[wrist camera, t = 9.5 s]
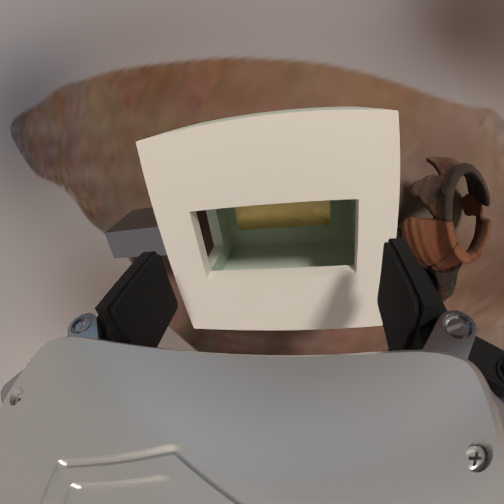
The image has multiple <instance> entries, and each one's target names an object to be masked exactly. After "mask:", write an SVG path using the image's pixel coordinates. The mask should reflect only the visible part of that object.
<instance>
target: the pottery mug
mask: <svg viewBox="0 0 504 504" xmlns="http://www.w3.org/2000/svg"><path fill="white" fill-rule="evenodd" d="M426 160H427V162H429V163H430V164H431V165H433V166H434V168H435V169H436V171H437V172H438V174H439V175H435V174H432V175H428V176H426V177H425V178H423V179H422V180H418V181H415V182H414V183H413V185H412V187H411V189H410V192H409V195H410V196H411V197H414V198H417V199H420V201H421V202H422V203H423V204H424V205H425V206H426V207H427V208H428V210H429V211H430V213H431V214H432V216H433V217H434V218H432V219H422V218H416V217H409V218H407V219H405V220H404V221H403V224H402V229H400V228H399V229H397V236H396V238H403V239H404V240H405V242H406V243H407V245H408V247H409V248H410V250H411V251H412V253H413V255H414V256H415V258H416V260H417V262H418V263H419V265H420V267H421V268H422V269H423V270H425V271H426V272H427V274H428V276H429V278H430V279H431V281H432V283H433V285H434V287H435V288H436V290H437V292H438V294H439V296H440V298H441V300H442V302H443V301H445V300H446V299H448V298H449V297H450V296H451V295H452V294H453V292H454V289H455V285H456V280H457V274H458V271H459V269H460V267H461V265H462V263H466V264H467V263H472V262H474V261H476V260H477V259H478V258H479V257H480V256H481V254H482V252H483V251H484V249H485V247H486V244H487V241H488V238H489V234H490V228H491V220H490V219H485V218H483V209H482V204H483V205H485V206H489V205H490V195H489V191H488V188H487V186H486V183H485V180H484V179H483V177H482V175H481V174H480V172H479V171H478V170H477V169H476V168H475V167H474V166H472V165H471V164H468V163H459V162H458V161H456V160H455V159H453V158H441V157H428V158H427V159H426ZM462 175H464V176H465V178H466V181H467V187H468V192H469V194H466V195H465V196H464V197H462V198H461V203H462V207H463V210H464V213H465V215H467V216H471V215H474V216H476V227H475V234H474V237H473V240H472V242H471V244H470V246H469V248H468V250H467V251H466V252H465V251H464V250H463V249H462V248H461V247H460V245H459V243H458V241H457V238H456V234H455V230H454V224H453V220H452V218H453V198H454V193H455V188H456V185H457V182H458V181H459V178H460V177H461V176H462ZM435 276H436V277H435ZM436 278H437V279H436Z"/></svg>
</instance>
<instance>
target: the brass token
mask: <svg viewBox="0 0 504 504" xmlns="http://www.w3.org/2000/svg"><path fill="white" fill-rule="evenodd" d="M234 208H235V213H236V218H237V224H238V229H239V230H248V229H264V228H280V227H297V226H316V225H331V221H330V200H325V201H307V202H292V203H278V204H265V205H252V206H241V207H234Z"/></svg>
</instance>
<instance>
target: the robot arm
mask: <svg viewBox="0 0 504 504" xmlns="http://www.w3.org/2000/svg"><path fill="white" fill-rule="evenodd" d="M377 303H378V308H379V312H380V315H381V319H382V323H383V327H384V331H385V335H386V339H387V343H388V347H389V351H382V352H365V353H350V354H328V355H247V354H226V353H210V352H197V351H185V350H175V349H165V348H157V346H158V344H159V342H160V340H161V338H162V336H163V335H164V333H165V331H166V329H167V327H168V325H169V323H170V321H171V319H172V317H173V316H174V314H175V312H176V310H177V306H178V304H177V300H176V297H175V295H174V292H173V289H172V287H171V284H170V281H169V279H168V276H167V273H166V270H165V267H164V265H163V262H162V259H161V256H160V255H159V254H157V253H156V252H155V251H150V252H143V253H141V254H140V256H139V257H138V258H137V259H136V260H135V261H134V262H133V263H132V265H131V266H130V267H129V268H128V269H127V271H126V272H125V273H124V274H123V275H122V276H121V277H120V279H119V280H118V281H117V282H116V283H115V284H114V286H113V287H112V288H111V289H110V291H109V292H108V293H107V294H106V295H105V296H104V298H103V299H102V300H101V301H100V303H99V304H98V305H97V307H96V308H95V309H96V311H97V313H98V317H97V318H96V316H95V315H94V314H92V313H86V314H82V315H80V316H78V317H77V318H75V319H74V320H73V321H72V322H71V324H70V325H69V327H68V336H67V337H63V338H59V339H55V340H52V341H50V342H47V343H46V344H44V345H43V346H42V347H41V348H40V349H39V350H38V351H37V353H36V354H35V355H34V356H33V357H32V359H31V360H30V361H29V363H28V364H27V365H26V367H25V368H24V369H23V370H22V371H21V372H20V373H18V374H17V375H16V376H15V377H13V378H12V379H11V380H10V381H9V382H7V383H6V384H5V385H4V387H3V388H2V391H1V400H2V405H1V407H0V504H504V351H503V350H501V349H499V348H498V347H496V346H494V345H492V344H490V343H488V342H486V341H484V340H482V339H480V338H479V337H477V336H476V331H477V328H476V324H475V322H474V320H473V319H472V318H471V317H470V316H469V315H467V314H466V313H464V312H461V311H458V310H450V311H447V310H446V308H445V306H444V304H443V302H442V300H441V298H440V296H439V294H438V292H437V290H436V288H435V287H434V285H433V283H432V281H431V279H430V278H429V276H428V274H427V272H426V271H425V270H423V269H422V268H421V267H420V265H419V263H418V262H417V260H416V258H415V256H414V255H413V253H412V251H411V250H410V248H409V247H408V245H407V243H406V242H405V240H404V239H403V238H390V239H389V240H388V242H385V243H384V247H383V257H382V267H381V275H380V283H379V290H378V297H377Z"/></svg>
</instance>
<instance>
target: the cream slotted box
mask: <svg viewBox="0 0 504 504" xmlns="http://www.w3.org/2000/svg"><path fill="white" fill-rule="evenodd" d="M136 145H137V149H138V153H139V157H140V162H141V166H142V170H143V174H144V177H145V181H146V185H147V189H148V192H149V196H150V200H151V203H152V207H153V210H154V214H155V217H156V220H157V224H158V227H159V230H160V234H161V237H162V240H163V243H164V246H165V249H166V252H167V255H168V259H169V262H170V264H171V267H172V270H173V273H174V276H175V279H176V282H177V285H178V287H179V290H180V293H181V296H182V298H183V301H184V304H185V306H186V309H187V312H188V314H189V317H190V320H191V322H192V325H193V327H194V328H197V329H219V330H316V329H338V328H354V327H368V326H380V325H383V323H382V319H381V315H380V312H379V308H378V303H377V297H378V290H379V283H380V275H381V267H382V257H383V247H384V243H385V242H388V240H389V239H390V238H396V236H397V225H398V211H399V192H400V135H399V117H398V111H396V110H388V109H378V108H367V107H321V108H304V109H292V110H281V111H272V112H263V113H256V114H248V115H242V116H235V117H229V118H223V119H218V120H213V121H207V122H202V123H198V124H194V125H190V126H187V127H183V128H179V129H176V130H172V131H169V132H165V133H162V134H159V135H155V136H152V137H149V138H146V139H143V140H140V141H137V142H136ZM325 200H330V221H331V225H316V226H297V227H280V228H264V229H248V230H239V229H238V224H237V218H236V213H235V208H234V207H241V206H252V205H265V204H278V203H292V202H307V201H325ZM201 210H206V213H207V218H208V222H209V226H210V230H211V235H212V239H213V243H214V247H213V249H212V251H211V253H210V254H209V256H207V253H206V249H205V245H204V241H203V237H202V233H201V229H200V225H199V221H198V217H197V213H196V211H201Z"/></svg>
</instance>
